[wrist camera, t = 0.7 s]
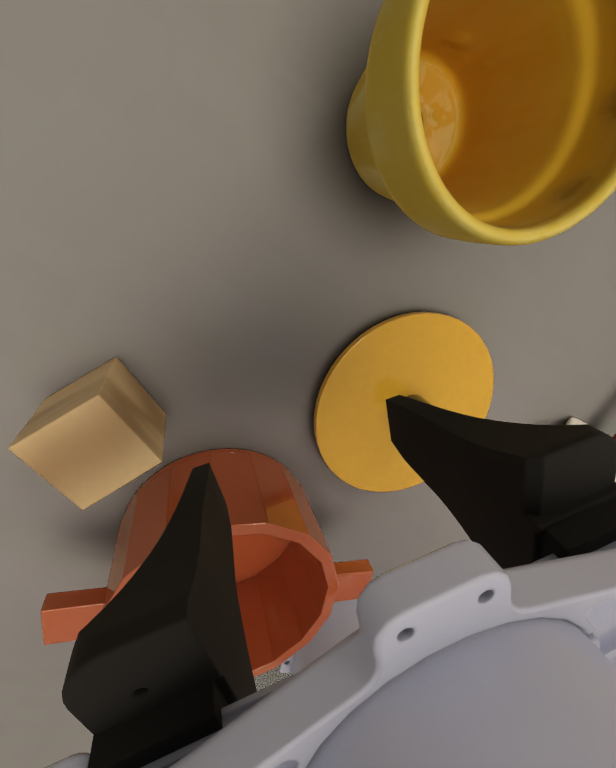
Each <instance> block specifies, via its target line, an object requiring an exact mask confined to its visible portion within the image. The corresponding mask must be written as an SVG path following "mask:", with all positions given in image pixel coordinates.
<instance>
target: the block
mask: <svg viewBox="0 0 616 768" xmlns="http://www.w3.org/2000/svg"><path fill="white" fill-rule="evenodd" d="M165 424H166V414H165V413H164V411H163V410H162V409H161V408H160V407H159V406H158V404H157V403H156V402H155V401H154V400H153V399H152V397H151V396H150V395H149V394H148V393H147V392H146V390H145V389H144V388H143V387H142V386H141V385H140V383H139V382H138V381H137V380H136V379H135V378H134V376H133V375H132V374H131V373H130V372H129V371H128V369H127V368H126V367H125V366H124V365H123V364H122V362H121V361H120V360H119V359H118V358H117V357H115V358H113V359H112V360H110V361H108V362H107V363H105V364H103V365H102V366H100V367H98V368H96V369H95V370H93V371H91V372H90V373H88V374H86V375H85V376H83V377H81V378H80V379H78V380H76V381H75V382H73V383H71V384H69V385H68V386H66V387H64V388H63V389H61V390H59V391H58V392H56V393H54V394H53V395H51V396H49V397H48V398H46V399H45V400H44V402H43V403H42V404H41V405H40V407H39V408H38V409H37V411H36V412H35V413H34V415H33V416H32V417H31V419H30V420H29V421H28V423H27V424H26V425H25V427H24V428H23V429H22V430H21V432H20V433H19V434H18V436H17V437H16V438H15V440H14V441H13V442H12V444H11V445H10V446H9V448H8V449H9V450H10V451H11V452H13V453H14V454H15V455H16V456H17V457H19V458H20V459H21V460H22V461H23V462H25V463H26V464H27V465H28V466H30V467H31V468H32V469H33V470H34V471H36V472H37V473H38V474H39V475H40V476H42V477H43V478H44V479H45V480H46V481H48V482H49V483H50V484H51V485H52V486H54V487H55V488H56V489H57V490H58V491H60V492H61V493H62V494H63V495H65V496H66V497H67V498H68V499H69V500H71V501H72V502H73V503H74V504H75V505H77V506H78V507H79V508H80V509H81V510H84V509H86V508H87V507H89V506H91V505H92V504H94V503H96V502H97V501H99V500H101V499H102V498H104V497H105V496H107V495H109V494H110V493H112V492H114V491H115V490H117V489H119V488H120V487H122V486H123V485H125V484H127V483H128V482H130V481H132V480H133V479H135V478H137V477H138V476H140V475H141V474H143V473H145V472H146V471H148V470H150V469H151V468H153V467H155V466H156V465H158V464H159V463H161V462H162V456H163V445H164V434H165Z"/></svg>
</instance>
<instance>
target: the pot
mask: <svg viewBox="0 0 616 768" xmlns="http://www.w3.org/2000/svg"><path fill="white" fill-rule="evenodd" d="M206 463H210V466H211V468H212V470H213V473H214V475H215V477H216V480H217V482H218V484H219V487H220V489H221V491H222V494H223V496H224V499H225V501H226V504H227V508H228V513H229V518H230V522H231V528H232V540H233V553H234V566H235V578H236V588H237V595H238V601H239V606H240V611H241V617H242V622H243V627H244V632H245V638H246V643H247V648H248V653H249V657H250V662H251V667H252V672H253V677H256V676H258V675H260V674H262V673H265V672H267V671H269V670H271V669H274V668H276V667H277V666H279V665H280V664H282V663H283V662H284V661H286V660H287V659H288V658H290V657H291V656H292V655H294V654H295V653H296V652H298V651H299V650H300V649H301V648H303V647H304V646H305V645H307V644H308V643H309V642H310V641H311V640H312V639H313V637H314V636H315V635H316V633H317V632H318V631H319V629H320V628H321V627H322V625H323V624H324V623H325V622H326V620H327V619H328V618H329V616H330V614H331V611H332V608H333V604H334V602H340V601H347V600H354V599H358V597H359V595H360V593H361V592H362V591H363V589H364V588H365V587H366V585H367V584H368V583H369V582H370V581H371V578H372V575H373V569H372V567H371V565H370V563H369V561H368V560H367V559H365V560H355V561H346V562H337V563H334V562H333V558H332V555H331V553H330V550H329V548H328V546H327V543H326V541H325V539H324V536H323V534H322V532H321V530H320V527H319V525H318V523H317V520H316V518H315V516H314V513H313V511H312V509H311V506H310V504H309V502H308V500H307V497H306V495H305V493H304V490H303V488H302V486H301V484H300V483H299V482H298V481H297V480H296V478H295V477H294V475H293V474H292V473H291V472H290V471H289V470H288V469H287V468H286V467H285V466H283V465H282V464H281V463H279V462H278V461H276V460H274V459H272V458H270V457H268V456H266V455H263V454H260V453H257V452H254V451H248V450H243V449H215V450H209V451H203V452H199V453H196V454H192V455H189V456H186V457H184V458H181V459H179V460H177V461H175V462H173V463H171V464H169V465H167V466H165V467H164V468H162V469H161V470H159V471H158V472H156V473H155V474H154V475H153V476H151V477H150V478H149V479H148V480H147V481H146V482H145V483H144V484H143V485H142V486H141V487H140V488H139V489H138V491H137V492H136V493H135V495H134V496H133V498H132V499H131V501H130V503H129V505H128V507H127V509H126V511H125V515H124V517H123V519H122V520H121V523H120V528H119V532H118V537H117V542H116V547H115V552H114V556H113V561H112V566H111V571H110V575H109V580H108V585H107V587H104V588H95V589H86V590H77V591H67V592H58V593H49V594H47V595H46V598H45V600H44V603H43V606H42V609H41V620H42V631H43V641H44V645H47V644H54V643H60V642H67V641H74V640H76V639H77V636H78V633H79V631H80V630H82V629H83V628H84V627H85V626H86V625H87V624H88V623H89V622H90V621H91V620H92V619H93V618H94V617H95V616H96V615H97V614H98V613H99V612H100V611H101V610H102V609H103V608H104V607H105V606H106V605H107V604H108V603H109V602H110V601H111V600H112V599H113V598H114V597H115V596H116V595H117V594H118V592H119V591H120V590H121V589H122V588H123V587H124V586H125V585H126V583H127V582H128V581H129V580H130V579H131V577H132V576H133V575H134V574H135V572H136V571H137V570H138V568H139V567H140V566H141V565H142V563H143V562H144V561H145V559H146V558H147V557H148V555H149V554H150V552H151V551H152V550H153V548H154V547H155V545H156V543H157V542H158V540H159V539H160V537H161V535H162V534H163V532H164V530H165V528H166V526H167V524H168V523H169V521H170V519H171V517H172V515H173V513H174V511H175V509H176V507H177V504H178V502H179V500H180V498H181V495H182V493H183V491H184V488H185V486H186V483H187V481H188V478H189V475H190V473H191V471H192V469H193V468H195V467H198V466H200V465H203V464H206Z"/></svg>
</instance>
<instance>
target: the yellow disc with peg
mask: <svg viewBox="0 0 616 768" xmlns="http://www.w3.org/2000/svg"><path fill="white" fill-rule="evenodd" d="M493 385H494V375H493V366H492V360H491V357H490V354H489V352H488V349H487V347H486V346H485V344H484V342H483V340H482V339H481V338H480V336H479V335H478V334H477V333H476V332H475V331H474V330H473V329H472V328H471V327H470V326H468V325H467V324H465V323H464V322H462V321H460V320H458V319H456V318H453V317H451V316H448V315H445V314H441V313H436V312H412V313H407V314H403V315H398V316H395V317H393V318H390V319H387V320H385V321H383V322H381V323H379V324H377V325H375V326H373V327H371V328H370V329H369V330H367V331H366V332H364V333H363V334H361V335H360V336H359V337H358V338H356V339H355V340H354V341H353V342H352V343H351V344H350V345H349V346H348V347H347V348H346V349H345V350H344V351H343V352H342V353H341V354H340V355H339V357H338V358H337V360H336V361H335V362H334V364H333V365H332V366H331V368H330V370H329V372H328V373H327V375H326V377H325V379H324V381H323V383H322V386H321V388H320V391H319V394H318V397H317V401H316V405H315V412H314V433H315V439H316V443H317V446H318V449H319V452H320V454H321V456H322V458H323V460H324V461H325V463H326V464H327V466H328V467H329V468H330V470H331V471H332V472H333V473H334V474H335V475H336V476H337V477H338V478H340V479H341V480H343V481H344V482H346V483H347V484H350V485H352V486H354V487H356V488H360V489H363V490H367V491H374V492H388V491H397V490H401V489H406V488H409V487H412V486H415V485H418V484H420V483H422V482H424V481H423V480H422V479H421V477H420V476H419V475H418V474H417V473H416V472H415V471H414V470H413V469H412V468H411V467H410V466H409V464H408V463H407V462H406V461H405V460H404V459H403V457H402V456H401V454H400V453H399V452H398V450H397V449H396V447H395V446H394V444H393V443H392V441H391V436H390V429H389V422H388V415H387V408H386V399H389V398H391V397H394V396H397V395H402V396H406V397H409V398H412V399H415V400H418V401H421V402H424V403H427V404H430V405H433V406H436V407H439V408H443V409H446V410H449V411H453V412H457V413H461V414H464V415H468V416H473V417H478V418H483V419H485V417H486V415H487V413H488V409H489V406H490V403H491V399H492V394H493Z"/></svg>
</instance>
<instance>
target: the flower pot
mask: <svg viewBox="0 0 616 768" xmlns="http://www.w3.org/2000/svg"><path fill="white" fill-rule="evenodd" d="M346 135H347V144H348V149H349V153H350V156H351V159H352V161H353V164H354V166H355V168H356V170H357V172H358V174H359V175H360V177H361V178H362V179H363V181H364V182H365V183H366V184H367V185H368V186H369V187H370V188H371V189H372V190H374V191H375V192H376V193H378V194H380V195H382V196H384V197H386V198H388V199H390V200H393V201H395V203H396V204H397V205H398V206H399V207H400V208H401V210H402V211H403V212H404V213H405V214H406V215H407V216H408V217H409V218H410V219H412V220H413V221H414V222H415V223H417V224H418V225H419V226H421V227H422V228H424V229H426V230H428V231H430V232H432V233H434V234H437V235H440V236H443V237H446V238H451V239H456V240H461V241H467V242H474V243H483V244H495V245H524V244H531V243H535V242H539V241H542V240H545V239H548V238H551V237H553V236H555V235H557V234H560V233H562V232H564V231H566V230H567V229H569V228H571V227H572V226H574V225H575V224H577V223H578V222H580V221H581V220H583V219H584V218H585V217H587V216H588V215H589V214H591V213H592V212H593V211H594V210H595V209H597V208H598V207H599V206H600V205H601V204H602V203H603V202H604V201H605V200H606V199H607V198H608V197H609V196H610V195H611V194H612V193H613V192H614V190H615V189H616V0H384V2H383V4H382V7H381V10H380V12H379V15H378V18H377V21H376V25H375V28H374V32H373V35H372V39H371V44H370V49H369V54H368V60H367V67H366V69H365V70H364V72H363V74H362V76H361V78H360V80H359V82H358V83H357V85H356V87H355V89H354V92H353V94H352V97H351V100H350V103H349V107H348V112H347V121H346Z"/></svg>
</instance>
